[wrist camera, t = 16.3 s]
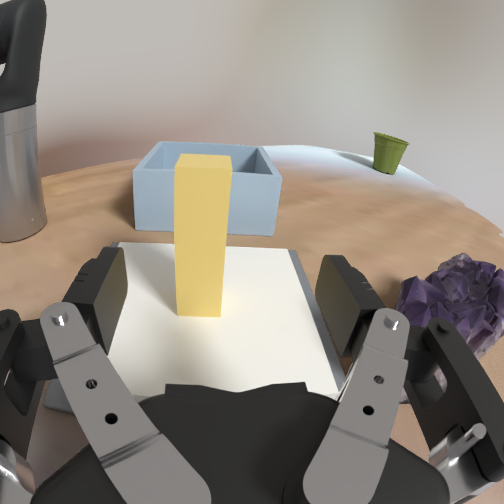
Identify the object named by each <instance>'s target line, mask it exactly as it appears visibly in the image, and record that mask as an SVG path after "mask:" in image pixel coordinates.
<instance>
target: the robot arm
mask: <svg viewBox="0 0 504 504" xmlns="http://www.w3.org/2000/svg"><path fill="white" fill-rule="evenodd" d="M46 16H47V15H46V5H45V2H44V0H11V1H8V2H5V3H3V4H0V65H1V64H4V63H6V64H5V68H4V71H3V73H2V75H1V76H0V241H1V242H13V241H17V240H21V239H24V238H26V237H29V236H31V235H33V234H35V233H36V232H38V231H39V230H40V229H42V228H43V227H44V225H45V224H46V222H47V216H46V209H45V204H44V198H43V190H42V183H41V175H40V166H39V155H38V142H37V124H36V104H35V103H36V92H37V87H38V81H39V71H40V60H41V53H42V46H43V40H44V34H45V28H46ZM127 291H128V280H127V272H126V265H125V256H124V250H123V248H122V247H103V249H102V251H101V252H100V254H99V256H98V257H97V259H93V258H92V259H90V260H89V261H88V262H86V263H85V264H84V265H83V266H82V267H81V269H80V271H79V272H78V275H77V276H76V277H75V279H74V281H73V282H72V284H71V286H70V288H69V289H68V291H67V293H66V295H65V296H64V298H63V300H62V302H59V303H55V304H53V305H50V306H49V307H47V308H46V309H45V310H44V311H43V312H42V314H41V317H40V319H35V320H27V321H21V319H20V317H19V314H18V313H17V312H16V311H14V310H11V309H6V310H2V311H0V504H453V503H454V504H463V503H465V502H467V501H469V500H470V499H472V498H474V497H475V496H477V495H479V494H480V493H482V492H484V491H485V490H487V489H489V488H490V487H492V486H493V485H495V484H496V483H498V482H499V481H501V480H502V479H504V403H503V401H502V399H501V397H500V396H499V394H498V392H497V390H496V389H495V387H494V385H493V384H492V382H491V380H490V379H489V377H488V375H487V374H486V372H485V371H484V369H483V367H482V366H481V364H480V363H479V361H478V360H477V358H476V357H475V355H474V354H473V352H472V351H471V349H470V348H469V346H468V345H467V343H466V342H465V340H464V339H463V337H462V336H461V334H460V333H459V332H458V330H457V329H456V327H455V326H454V325H453V324H452V323H451V322H449V321H448V320H446V319H443V318H440V317H433V318H431V319H430V320H429V321H428V323H427V325H426V327H420V326H414V325H410V324H409V321H408V319H407V318H406V317H405V316H404V315H403V314H402V313H400V312H398V311H396V310H394V309H390V308H386V307H385V305H384V304H383V302H382V301H381V299H380V298H379V296H378V295H377V294H376V292H375V291H374V290H373V288H372V286H371V285H370V283H368V281H367V279H366V278H365V276H364V275H363V274H362V273H361V272H359V271H358V270H357V269H356V268H354V267H351V266H350V264H349V263H348V261H347V260H346V258H345V257H344V256H343V255H325V256H324V257H323V260H322V264H321V268H320V272H319V276H318V280H317V283H316V288H315V297H316V301H317V303H318V306H319V308H320V310H321V312H322V315H323V317H324V319H325V322H326V324H327V326H328V328H329V331H330V333H331V335H332V338H333V340H334V342H335V345H336V347H337V349H338V352H339V354H340V357H341V358H343V357H353V359H354V360H353V362H352V364H351V367H350V369H349V371H348V373H347V376H346V378H345V380H344V382H343V385H342V387H341V389H340V391H339V393H338V395H337V397H336V400H334V399H332V398H330V397H327V396H325V395H322V394H319V393H314V392H309V391H308V390H307V386H306V383H305V382H295V383H280V384H270V385H267V386H263V387H259V388H255V389H251V390H247V391H243V392H231V391H226V390H221V389H216V388H212V387H207V386H203V385H186V384H165V394H159V395H155V396H151V397H149V398H146V399H144V400H142V401H140V402H138V403H137V401H136V400H135V399H134V397H133V396H132V394H131V393H130V391H129V390H128V388H127V387H126V385H125V384H124V382H123V381H122V379H121V378H120V376H119V375H118V373H117V372H116V370H115V368H114V367H113V365H112V364H111V362H110V360H109V359H108V357H107V356H108V354H109V351H110V347H111V344H112V340H113V337H114V334H115V330H116V327H117V324H118V321H119V318H120V315H121V312H122V308H123V305H124V302H125V299H126V296H127ZM439 367H440V369H441V371H442V372H443V374H444V376H445V378H446V380H447V388H446V391H445V393H444V392H443V390H442V388H441V386H440V384H439V382H438V380H437V379H436V377H435V375H434V374H435V372H436V371H437V369H438V368H439ZM9 370H10V373H9V375H8V378H7V381H6V383H5V386H4V382H5V379H6V376H7V374H8V371H9ZM51 379H59V380H60V383H61V385H62V387H63V390H64V392H65V394H66V397H67V399H68V401H69V403H70V405H71V407H72V410H73V412H74V414H75V416H76V418H77V420H78V422H79V424H80V426H81V428H82V430H83V432H84V433H85V435H86V437H87V439H88V441H89V444H88V445H87V446H86V447H84V448H83V449H82V450H81V451H80V452H79V453H77V454H76V455H75V456H74V457H73V458H72V459H70V460H69V461H68V462H67V463H66V464H65V465H63V466H62V467H61V468H60V469H59V470H57V471H56V472H55V473H54V474H53V475H51V476H50V477H49V478H48V479H47V480H45V481H44V482H43V483H42V484H41V485H40V486H39V487H38V488H37V489H36V490H35V483H34V475H33V471H32V468H31V466H30V465H29V463H28V462H27V461H26V457H27V451H28V446H29V441H30V437H31V432H32V428H33V424H34V420H35V416H36V412H37V408H38V404H39V401H40V397H41V393H42V390H43V387H44V383H45V380H51ZM403 388H404V390H405V392H406V394H407V397H408V399H409V401H410V403H411V406H412V408H413V410H414V413H415V415H416V418H417V420H418V422H419V425H420V427H421V430H422V432H423V435H424V437H425V440H426V442H427V445H428V447H429V450H430V454H429V463H428V462H426V461H425V460H423V459H421V458H420V457H418V456H417V455H415V454H414V453H412V452H411V451H409V450H407V449H406V448H404V447H403V446H401V445H400V444H398V443H397V442H395V441H394V440H392V439H391V438H390V434H391V431H392V428H393V424H394V421H395V417H396V414H397V410H398V406H399V402H400V398H401V394H402V390H403Z"/></svg>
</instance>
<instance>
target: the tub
mask: <svg viewBox="0 0 504 504" xmlns="http://www.w3.org/2000/svg"><path fill="white" fill-rule="evenodd" d="M181 154H206V155H224V156H230V157H231V163H232V180H231V191H230V202H229V213H228V225H227V234H239V235H259V236H273V235H274V229H275V223H276V216H277V210H278V204H279V198H280V191H281V185H282V176H281V175H280V173H279V172H278V170H277V169H276V167H275V165H274V164H273V162H272V161H271V159H270V158H269V156H268V155H267V153H266V152H265V150H264V148H263V147H258V146H247V145H234V144H219V143H198V142H197V143H196V142H158V143H157V144H156V145H155V147H154V148H153V149H152V150H151V151H150V152H149V153H148V154H147V155H146V157H144V159H143V160H142V161H141V162H140V163H139V164H138V165H137V166H136V168H135V169H134V170H133V196H134V215H135V229H136V230H142V231H169V232H174V175H175V165H176V163H177V161H178V159H179V157H180V155H181Z"/></svg>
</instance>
